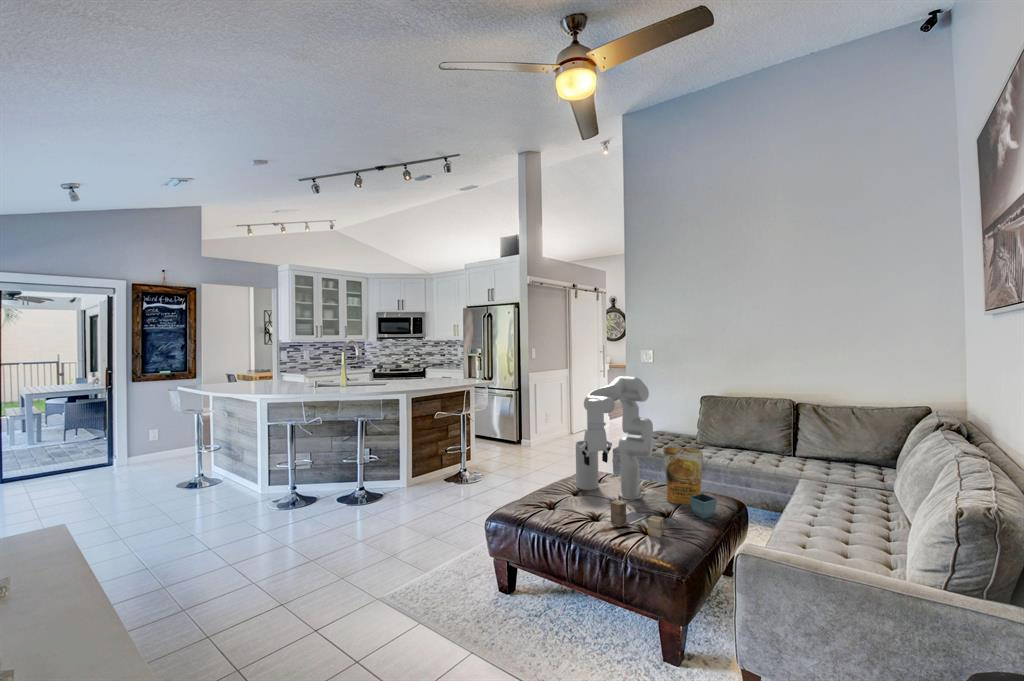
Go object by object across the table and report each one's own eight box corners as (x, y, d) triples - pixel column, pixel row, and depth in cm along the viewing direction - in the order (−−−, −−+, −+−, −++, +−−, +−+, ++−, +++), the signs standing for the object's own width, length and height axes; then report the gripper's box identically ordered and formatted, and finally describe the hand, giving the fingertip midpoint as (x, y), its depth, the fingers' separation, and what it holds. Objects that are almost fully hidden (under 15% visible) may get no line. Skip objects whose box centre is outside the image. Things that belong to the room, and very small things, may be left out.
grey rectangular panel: (631, 511, 238) (631, 511, 238) (646, 517, 231) (646, 516, 231) (614, 518, 230) (614, 518, 230) (630, 524, 223) (630, 524, 223)
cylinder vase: (580, 491, 268) (579, 446, 267) (573, 484, 280) (572, 441, 279) (601, 489, 270) (601, 445, 269) (593, 482, 282) (593, 439, 281)
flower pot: (704, 521, 225) (704, 502, 224) (689, 515, 233) (689, 496, 232) (717, 517, 229) (717, 499, 228) (702, 511, 237) (702, 493, 236)
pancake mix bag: (664, 498, 255) (663, 445, 254) (702, 502, 248) (702, 448, 247) (663, 502, 249) (662, 448, 248) (703, 506, 242) (702, 451, 241)
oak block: (652, 530, 216) (652, 515, 216) (663, 533, 213) (663, 517, 213) (648, 535, 212) (648, 519, 212) (659, 537, 209) (659, 521, 209)
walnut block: (617, 520, 228) (617, 499, 228) (626, 523, 224) (626, 502, 224) (610, 523, 225) (610, 502, 225) (619, 526, 221) (619, 505, 221)
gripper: (606, 422, 228) (607, 458, 228) (574, 426, 221) (575, 463, 221) (616, 425, 221) (616, 462, 221) (583, 429, 214) (584, 468, 215)
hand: (596, 463), depth 221 cm, fingers open, 9 cm apart
